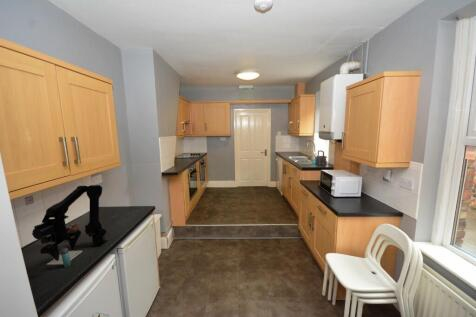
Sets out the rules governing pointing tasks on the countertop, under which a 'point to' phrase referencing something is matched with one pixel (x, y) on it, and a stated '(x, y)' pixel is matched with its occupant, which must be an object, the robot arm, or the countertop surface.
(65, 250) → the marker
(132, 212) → the countertop surface
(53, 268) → the countertop surface
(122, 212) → the countertop surface
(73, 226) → the battery
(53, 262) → the notepad
